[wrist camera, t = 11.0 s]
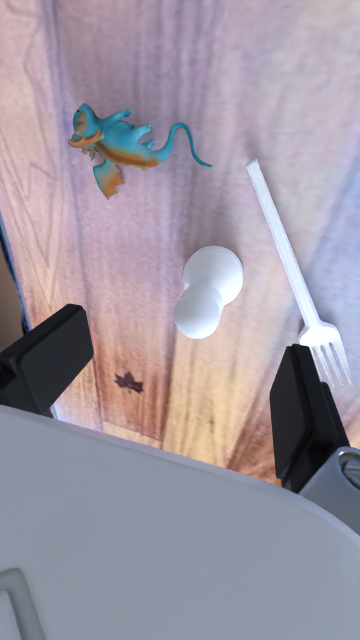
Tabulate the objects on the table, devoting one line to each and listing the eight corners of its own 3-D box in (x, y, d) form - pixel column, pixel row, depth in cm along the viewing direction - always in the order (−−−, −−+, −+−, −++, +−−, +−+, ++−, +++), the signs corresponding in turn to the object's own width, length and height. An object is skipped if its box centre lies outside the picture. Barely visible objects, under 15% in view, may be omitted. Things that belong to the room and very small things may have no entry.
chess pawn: (242, 241, 19) (236, 283, 11) (243, 298, 21) (239, 364, 14) (182, 247, 20) (141, 287, 13) (189, 300, 23) (159, 360, 15)
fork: (274, 145, 15) (277, 141, 14) (352, 370, 22) (359, 385, 20) (228, 175, 17) (226, 175, 15) (314, 377, 24) (318, 392, 22)
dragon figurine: (166, 3, 13) (34, 65, 13) (218, 127, 13) (83, 187, 13) (174, 110, 19) (85, 150, 20) (208, 192, 19) (119, 231, 20)
